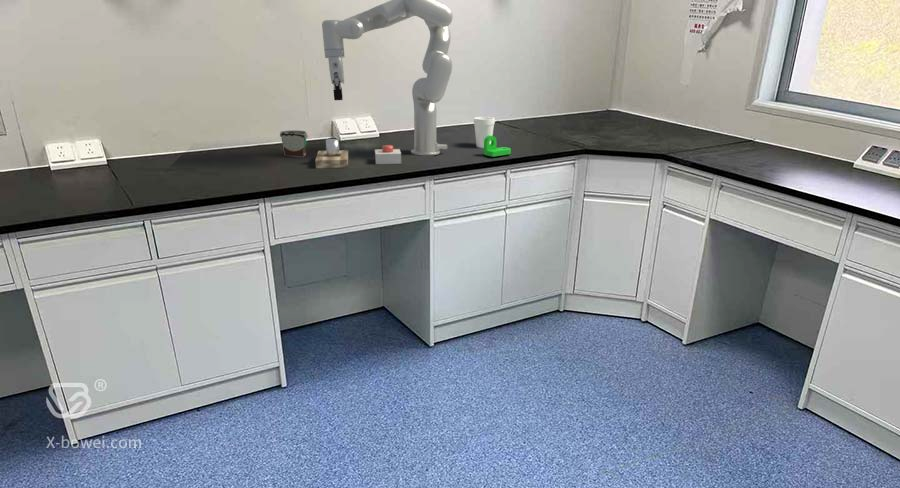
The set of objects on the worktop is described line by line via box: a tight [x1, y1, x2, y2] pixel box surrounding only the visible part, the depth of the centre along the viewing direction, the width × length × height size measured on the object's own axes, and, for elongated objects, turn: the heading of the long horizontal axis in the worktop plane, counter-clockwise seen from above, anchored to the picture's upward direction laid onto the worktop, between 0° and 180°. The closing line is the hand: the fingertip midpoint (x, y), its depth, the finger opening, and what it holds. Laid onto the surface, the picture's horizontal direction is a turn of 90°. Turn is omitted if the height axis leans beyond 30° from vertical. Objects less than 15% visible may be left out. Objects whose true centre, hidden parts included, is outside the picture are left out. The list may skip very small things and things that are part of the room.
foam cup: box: [473, 116, 496, 149], centre depth 274 cm, size 10×9×13 cm
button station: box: [374, 148, 402, 165], centre depth 242 cm, size 10×10×4 cm
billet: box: [325, 138, 340, 157], centre depth 238 cm, size 5×5×8 cm
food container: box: [279, 130, 308, 158], centre depth 252 cm, size 12×6×10 cm, turn 71°
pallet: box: [314, 149, 349, 169], centre depth 239 cm, size 12×20×3 cm, turn 8°
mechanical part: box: [483, 135, 512, 158], centre depth 260 cm, size 12×6×8 cm, turn 128°
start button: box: [381, 144, 394, 152], centre depth 241 cm, size 4×4×2 cm
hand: (338, 98), depth 240 cm, fingers open, 9 cm apart
